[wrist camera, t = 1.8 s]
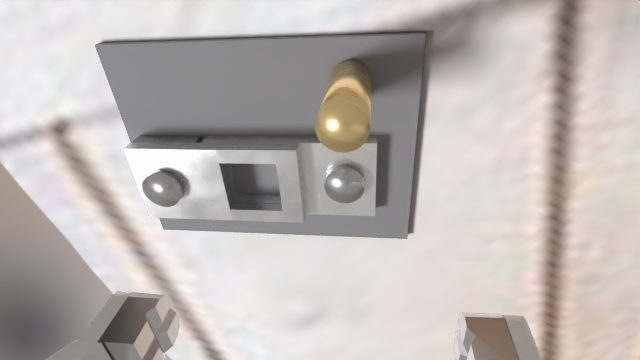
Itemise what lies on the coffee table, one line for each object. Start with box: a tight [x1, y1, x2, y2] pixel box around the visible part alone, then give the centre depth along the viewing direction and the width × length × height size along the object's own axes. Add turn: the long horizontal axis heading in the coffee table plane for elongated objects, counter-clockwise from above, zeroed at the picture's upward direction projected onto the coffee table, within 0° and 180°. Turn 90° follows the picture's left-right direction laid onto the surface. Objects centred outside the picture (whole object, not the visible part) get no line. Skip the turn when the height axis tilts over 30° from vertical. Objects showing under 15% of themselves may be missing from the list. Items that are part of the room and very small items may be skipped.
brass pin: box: [315, 59, 372, 153], centre depth 24 cm, size 3×3×8 cm
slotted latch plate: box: [124, 136, 377, 223], centre depth 31 cm, size 20×7×3 cm, turn 94°
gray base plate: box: [95, 32, 426, 239], centre depth 32 cm, size 24×18×1 cm
